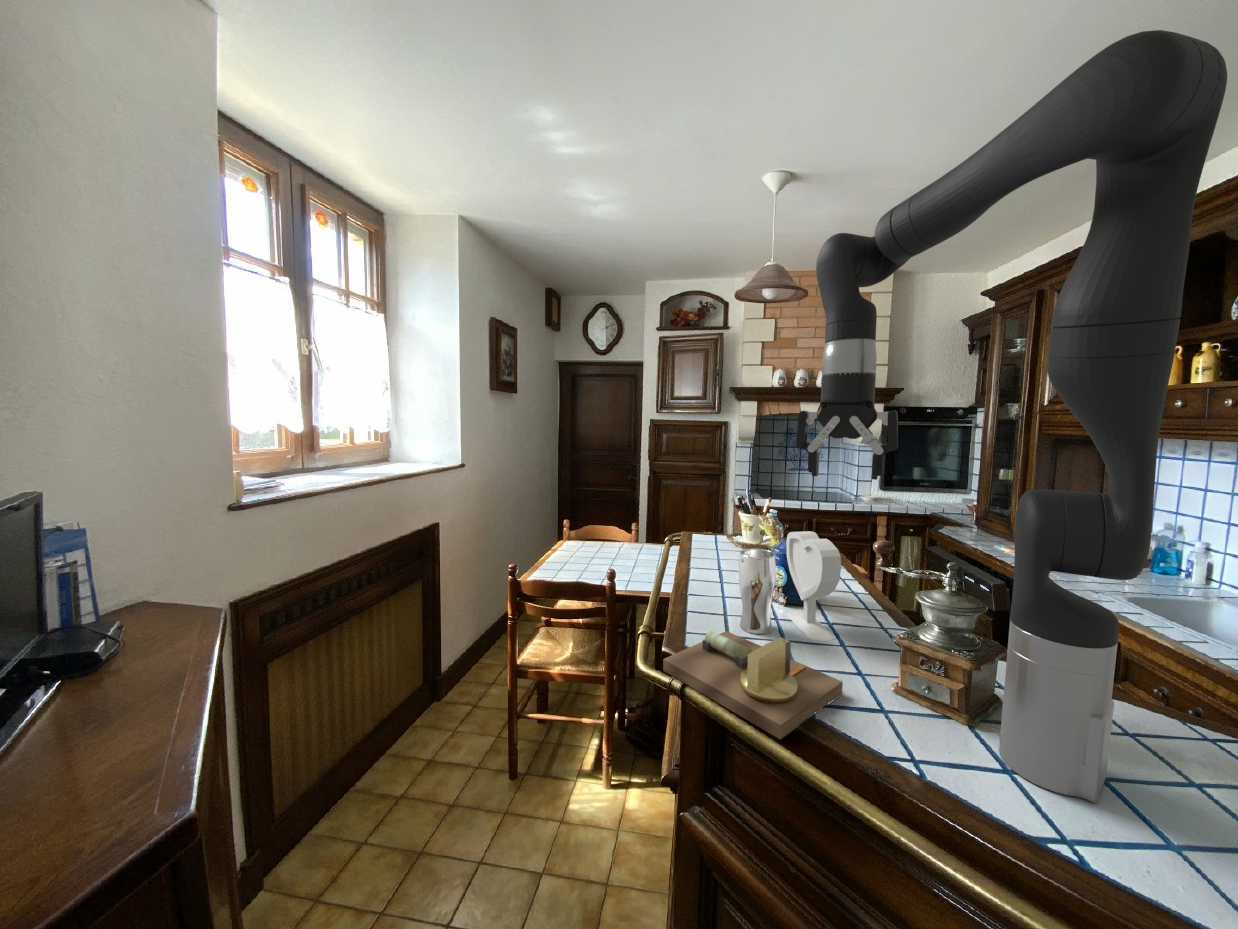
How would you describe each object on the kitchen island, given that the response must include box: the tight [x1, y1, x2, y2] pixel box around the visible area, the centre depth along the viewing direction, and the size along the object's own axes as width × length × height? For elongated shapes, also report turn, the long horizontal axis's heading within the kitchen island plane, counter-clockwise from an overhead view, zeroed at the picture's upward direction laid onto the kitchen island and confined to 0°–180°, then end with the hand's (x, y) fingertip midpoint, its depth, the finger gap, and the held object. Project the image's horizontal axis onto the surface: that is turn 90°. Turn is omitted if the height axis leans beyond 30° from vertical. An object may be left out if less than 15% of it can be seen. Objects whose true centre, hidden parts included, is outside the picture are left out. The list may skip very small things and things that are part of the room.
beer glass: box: [738, 547, 777, 635], centre depth 96 cm, size 7×7×15 cm
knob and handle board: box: [662, 630, 843, 740], centre depth 77 cm, size 22×16×5 cm
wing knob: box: [740, 636, 798, 703], centre depth 72 cm, size 8×8×6 cm
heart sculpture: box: [784, 530, 842, 642], centre depth 97 cm, size 16×5×18 cm, turn 5°
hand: (843, 477), depth 77 cm, fingers open, 8 cm apart
